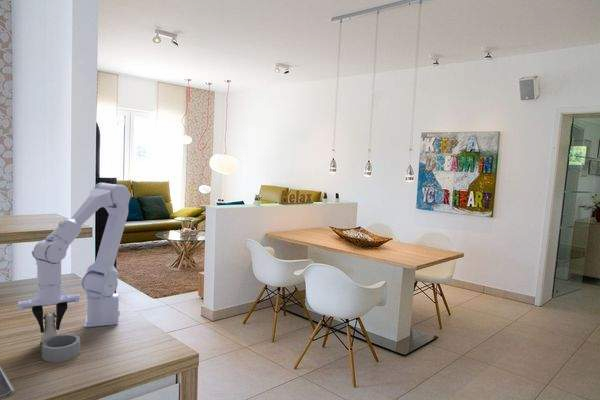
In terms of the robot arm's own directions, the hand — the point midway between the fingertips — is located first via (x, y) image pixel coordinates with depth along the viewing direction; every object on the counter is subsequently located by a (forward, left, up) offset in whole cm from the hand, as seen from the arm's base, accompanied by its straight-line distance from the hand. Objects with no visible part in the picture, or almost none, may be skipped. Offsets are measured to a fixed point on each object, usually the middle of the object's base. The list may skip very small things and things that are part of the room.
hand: (49, 330), depth 117 cm
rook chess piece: (0, 0, -3) cm, 3 cm away
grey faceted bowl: (-4, +9, -3) cm, 10 cm away
